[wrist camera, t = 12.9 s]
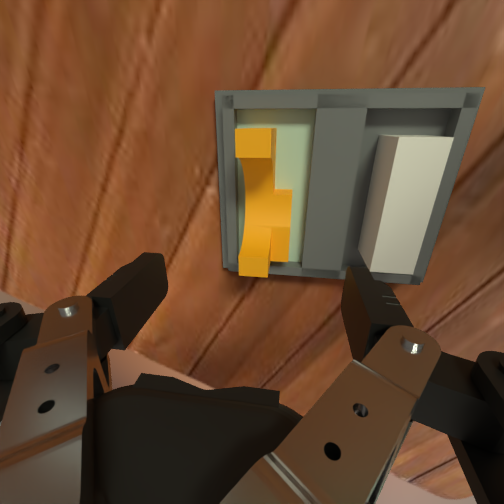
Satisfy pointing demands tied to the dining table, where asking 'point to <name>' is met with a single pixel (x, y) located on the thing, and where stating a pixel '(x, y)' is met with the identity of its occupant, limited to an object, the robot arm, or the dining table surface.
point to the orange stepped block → (262, 203)
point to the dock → (350, 174)
